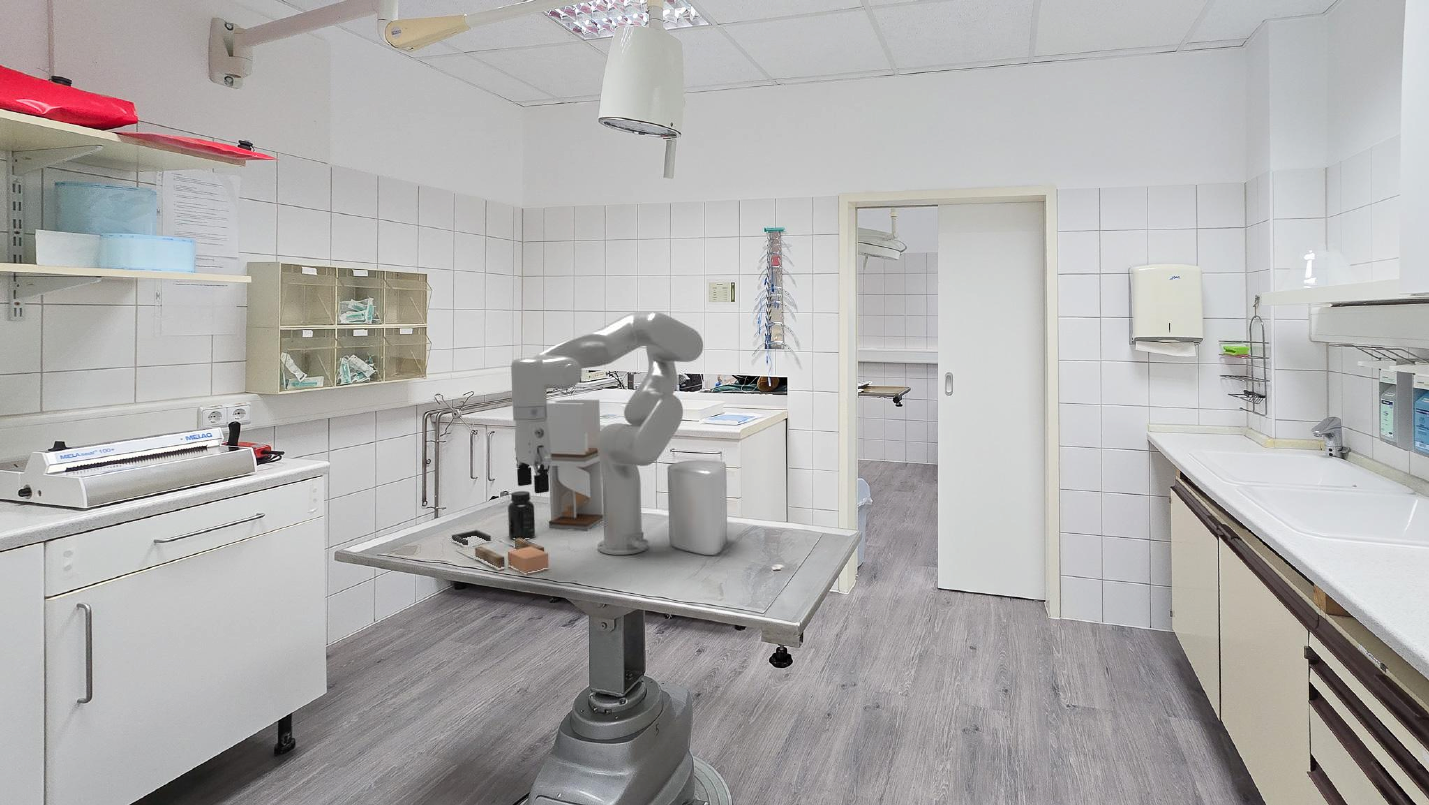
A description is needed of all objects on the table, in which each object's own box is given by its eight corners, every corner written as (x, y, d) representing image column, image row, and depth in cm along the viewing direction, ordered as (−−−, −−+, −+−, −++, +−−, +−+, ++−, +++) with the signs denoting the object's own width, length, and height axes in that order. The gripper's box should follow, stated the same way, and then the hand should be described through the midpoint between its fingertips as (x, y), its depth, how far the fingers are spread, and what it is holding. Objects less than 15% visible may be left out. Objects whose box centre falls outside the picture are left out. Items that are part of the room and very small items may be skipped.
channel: (544, 559, 191) (544, 547, 191) (498, 571, 183) (498, 558, 183) (520, 549, 200) (519, 537, 199) (475, 559, 192) (475, 547, 191)
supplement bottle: (503, 538, 210) (501, 494, 208) (521, 532, 216) (519, 489, 214) (523, 541, 206) (521, 496, 205) (540, 535, 212) (538, 491, 211)
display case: (549, 528, 219) (544, 403, 215) (567, 518, 229) (562, 399, 225) (586, 531, 216) (582, 403, 212) (603, 521, 226) (599, 399, 222)
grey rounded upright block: (718, 556, 191) (716, 467, 188) (661, 554, 194) (659, 466, 191) (729, 539, 206) (728, 456, 203) (676, 537, 208) (674, 455, 206)
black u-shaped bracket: (490, 542, 206) (490, 535, 206) (465, 548, 201) (465, 541, 201) (477, 536, 212) (476, 530, 212) (452, 541, 207) (451, 535, 207)
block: (548, 570, 184) (548, 553, 183) (525, 576, 180) (524, 559, 179) (531, 562, 190) (530, 546, 189) (508, 568, 186) (507, 551, 185)
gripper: (562, 415, 172) (564, 493, 173) (531, 408, 186) (533, 480, 187) (529, 418, 167) (532, 498, 169) (500, 411, 181) (503, 484, 183)
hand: (533, 488), depth 178 cm, fingers open, 9 cm apart
